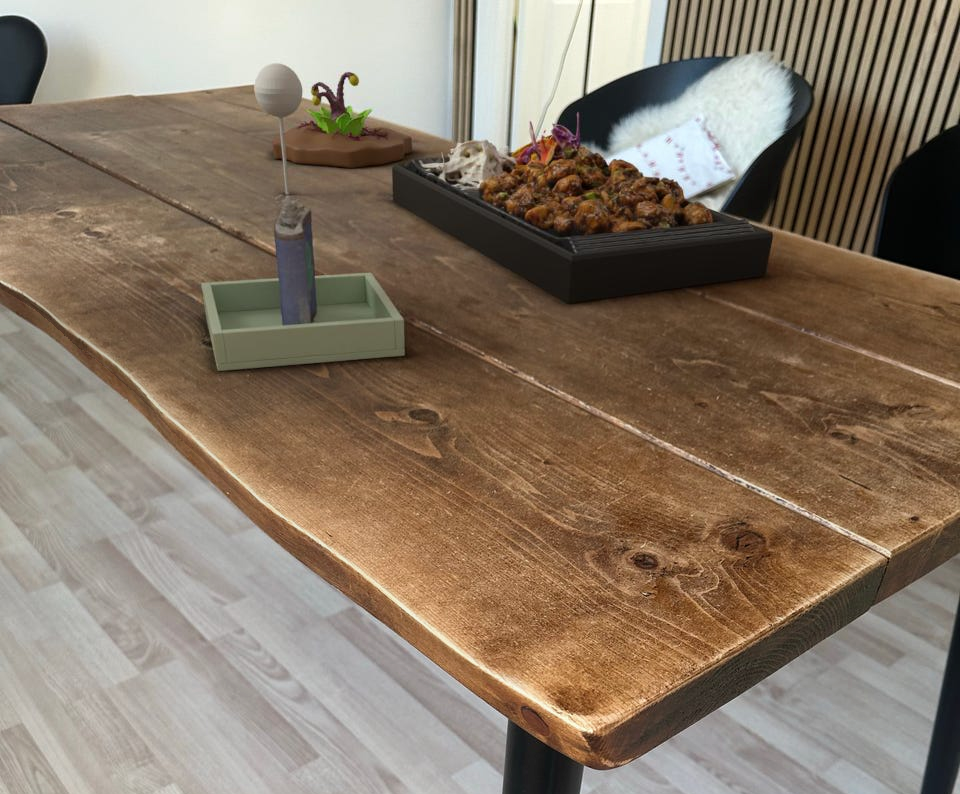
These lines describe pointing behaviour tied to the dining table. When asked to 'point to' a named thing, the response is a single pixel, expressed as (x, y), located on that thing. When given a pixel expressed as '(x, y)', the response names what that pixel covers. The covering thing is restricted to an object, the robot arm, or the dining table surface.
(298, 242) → the flask
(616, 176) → the food platter
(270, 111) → the lollipop
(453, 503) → the dining table surface
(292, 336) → the tray
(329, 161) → the plant
